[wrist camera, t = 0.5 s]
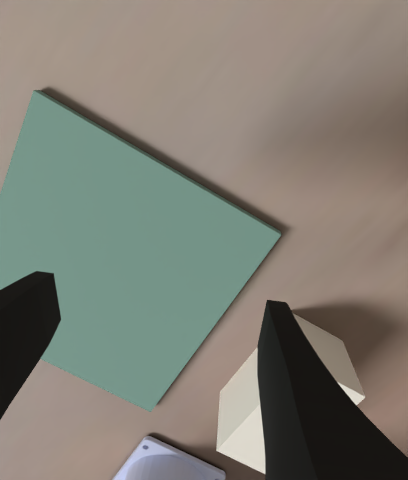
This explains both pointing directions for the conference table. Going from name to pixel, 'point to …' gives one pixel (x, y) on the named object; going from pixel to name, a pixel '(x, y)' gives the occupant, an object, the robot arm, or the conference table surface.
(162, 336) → the mat
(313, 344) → the card box
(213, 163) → the conference table surface
